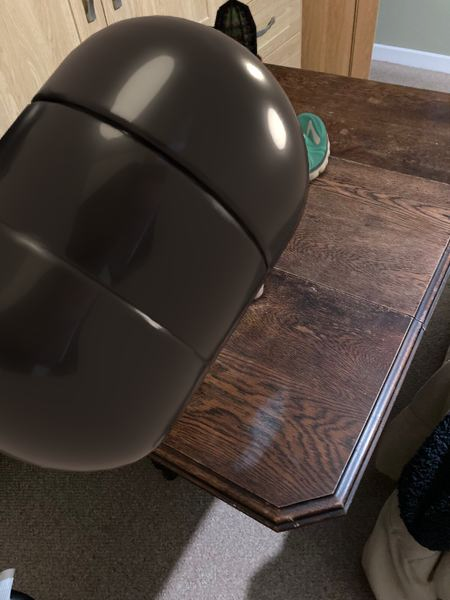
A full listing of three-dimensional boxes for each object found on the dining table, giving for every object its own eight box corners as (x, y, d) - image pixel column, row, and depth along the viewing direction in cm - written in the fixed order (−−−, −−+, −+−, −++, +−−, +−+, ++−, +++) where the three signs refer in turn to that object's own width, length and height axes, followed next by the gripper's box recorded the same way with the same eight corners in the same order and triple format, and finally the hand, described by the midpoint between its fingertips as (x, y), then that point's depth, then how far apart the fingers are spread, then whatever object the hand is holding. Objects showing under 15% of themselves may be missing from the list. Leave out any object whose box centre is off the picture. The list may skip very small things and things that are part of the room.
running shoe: (340, 145, 100) (344, 90, 92) (292, 232, 83) (292, 174, 75) (288, 138, 104) (287, 84, 96) (232, 220, 87) (226, 163, 79)
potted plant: (221, 105, 117) (208, -15, 99) (275, 111, 112) (271, -13, 94) (194, 133, 110) (174, 9, 91) (250, 142, 105) (241, 12, 86)
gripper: (223, 209, 30) (205, 267, 46) (3, 323, 27) (65, 342, 43) (286, 317, 29) (245, 338, 45) (66, 442, 27) (105, 418, 43)
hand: (157, 340), depth 44 cm, fingers open, 8 cm apart
